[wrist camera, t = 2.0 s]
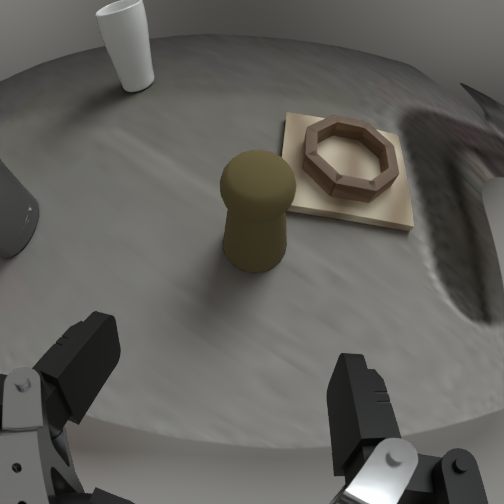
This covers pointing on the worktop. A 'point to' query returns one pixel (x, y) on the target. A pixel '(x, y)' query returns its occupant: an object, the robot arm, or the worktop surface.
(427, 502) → the robot arm
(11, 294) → the worktop surface
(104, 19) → the drinking glass
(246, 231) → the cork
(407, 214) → the board
